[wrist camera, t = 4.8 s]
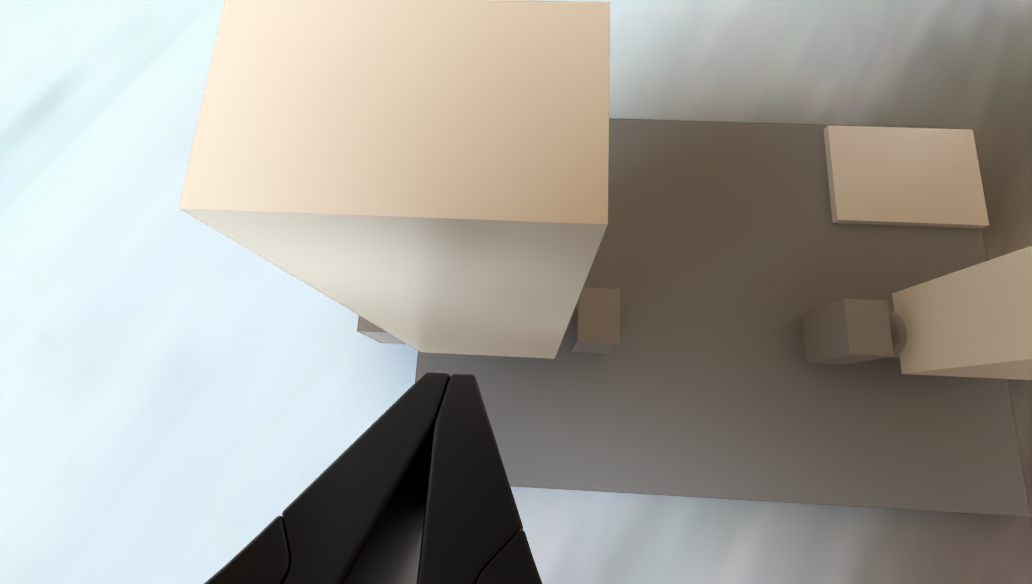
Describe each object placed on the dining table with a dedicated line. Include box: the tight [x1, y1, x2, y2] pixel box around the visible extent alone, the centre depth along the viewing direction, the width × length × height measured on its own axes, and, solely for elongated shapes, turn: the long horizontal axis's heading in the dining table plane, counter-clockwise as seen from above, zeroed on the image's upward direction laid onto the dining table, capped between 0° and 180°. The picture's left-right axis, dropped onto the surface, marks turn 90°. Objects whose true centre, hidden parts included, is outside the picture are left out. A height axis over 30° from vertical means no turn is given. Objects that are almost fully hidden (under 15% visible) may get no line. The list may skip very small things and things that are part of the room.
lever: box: [179, 0, 610, 359], centre depth 11 cm, size 2×4×12 cm, turn 87°
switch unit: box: [357, 119, 1031, 517], centre depth 17 cm, size 13×22×3 cm, turn 87°
